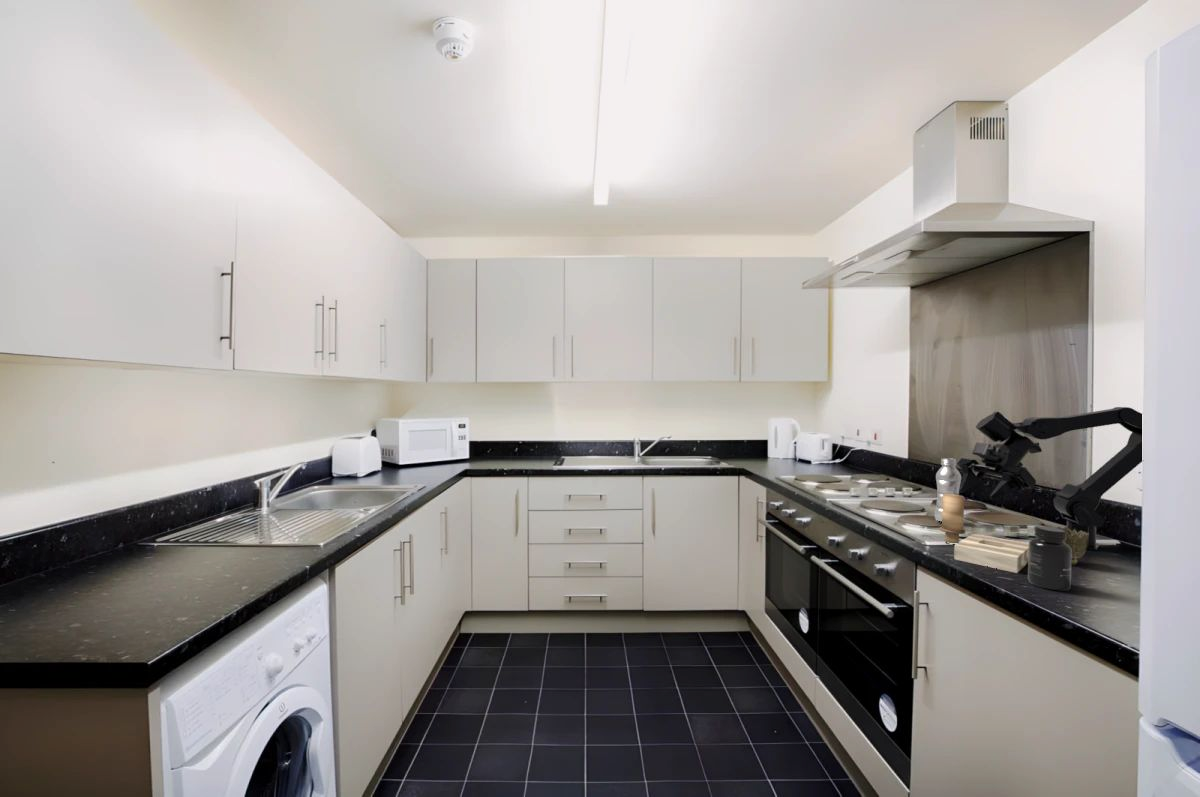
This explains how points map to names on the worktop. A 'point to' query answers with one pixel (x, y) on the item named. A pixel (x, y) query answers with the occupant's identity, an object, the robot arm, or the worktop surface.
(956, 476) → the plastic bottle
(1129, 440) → the robot arm
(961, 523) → the oak peg
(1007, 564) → the light wooden block
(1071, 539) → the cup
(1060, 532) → the supplement bottle
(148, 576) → the worktop surface
